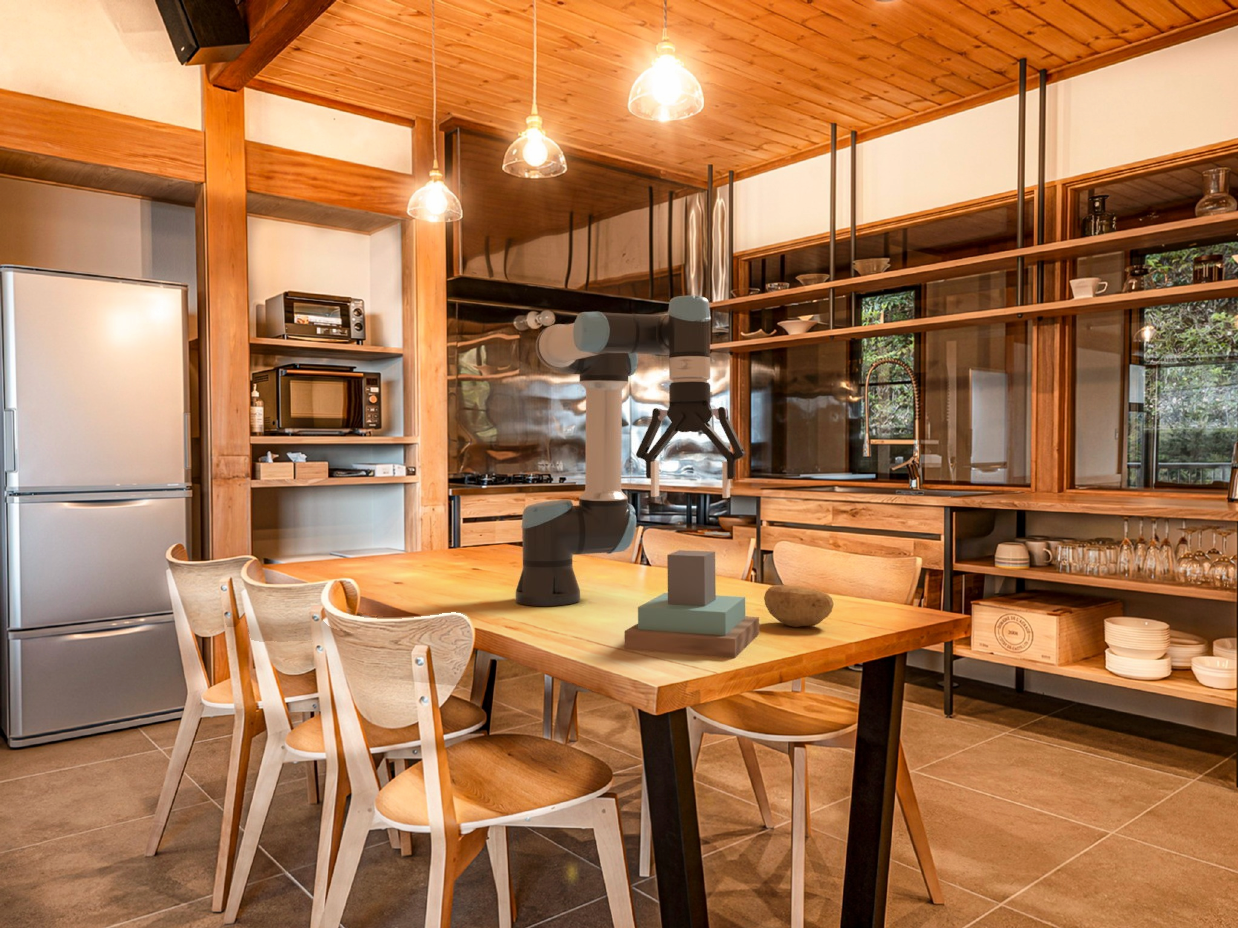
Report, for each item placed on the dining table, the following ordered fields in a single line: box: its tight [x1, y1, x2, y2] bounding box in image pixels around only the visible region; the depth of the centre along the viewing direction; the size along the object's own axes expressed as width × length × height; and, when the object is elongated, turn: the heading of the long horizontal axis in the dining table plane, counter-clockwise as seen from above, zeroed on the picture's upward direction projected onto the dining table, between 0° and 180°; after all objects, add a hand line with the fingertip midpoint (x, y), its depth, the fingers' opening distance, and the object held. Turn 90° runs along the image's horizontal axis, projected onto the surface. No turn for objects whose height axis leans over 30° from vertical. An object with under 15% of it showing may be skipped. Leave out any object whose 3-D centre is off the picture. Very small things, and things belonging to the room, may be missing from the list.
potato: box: [763, 584, 834, 628], centre depth 174 cm, size 10×14×8 cm
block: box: [666, 549, 717, 606], centre depth 161 cm, size 7×7×9 cm
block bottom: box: [624, 615, 760, 659], centre depth 161 cm, size 20×20×4 cm
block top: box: [637, 592, 746, 635], centre depth 161 cm, size 16×16×4 cm
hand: (690, 497), depth 161 cm, fingers open, 13 cm apart
